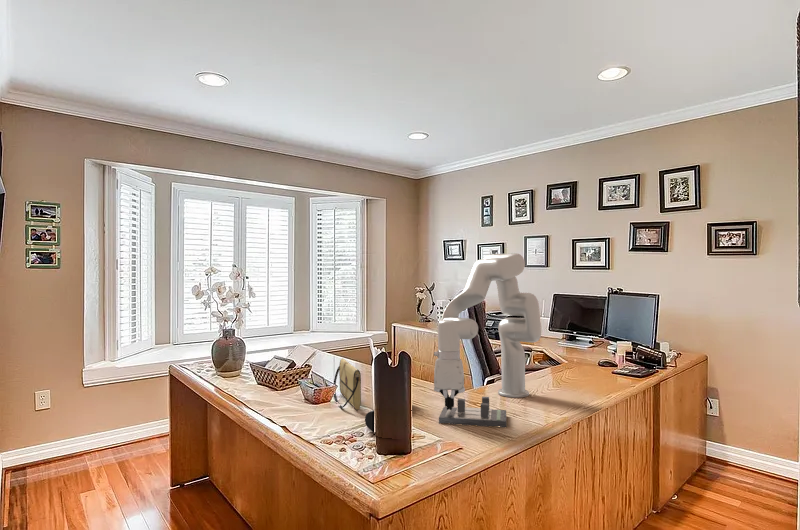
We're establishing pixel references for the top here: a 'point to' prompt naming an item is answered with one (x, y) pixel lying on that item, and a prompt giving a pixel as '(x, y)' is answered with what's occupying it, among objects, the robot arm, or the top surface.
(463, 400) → the handle
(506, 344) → the robot arm
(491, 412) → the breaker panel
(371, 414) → the end cap
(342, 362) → the clutch purse
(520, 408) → the top surface
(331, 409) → the top surface
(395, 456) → the top surface
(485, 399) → the handle
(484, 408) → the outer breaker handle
